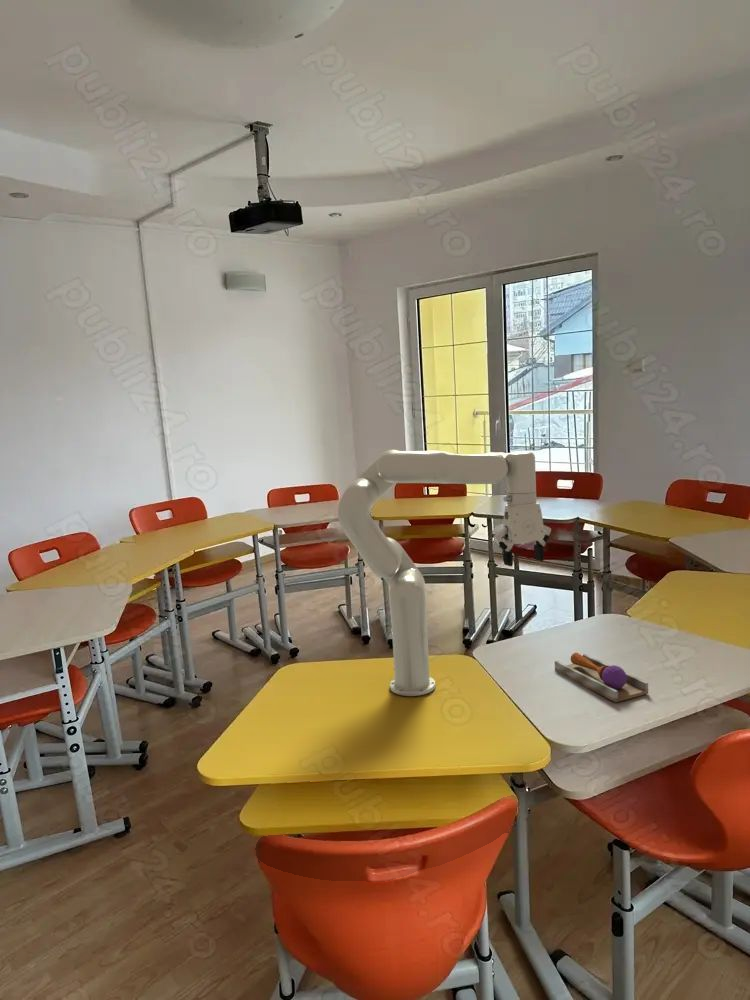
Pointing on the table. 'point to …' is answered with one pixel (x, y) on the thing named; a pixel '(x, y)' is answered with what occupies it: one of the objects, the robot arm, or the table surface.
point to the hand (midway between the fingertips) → (523, 562)
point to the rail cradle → (595, 683)
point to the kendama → (603, 671)
